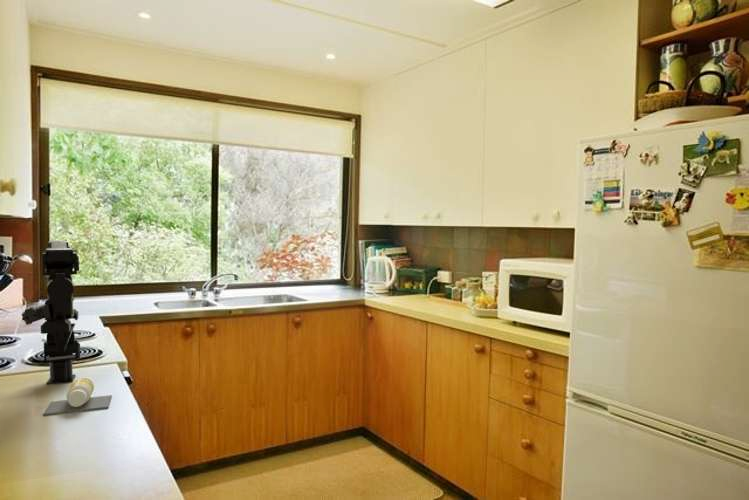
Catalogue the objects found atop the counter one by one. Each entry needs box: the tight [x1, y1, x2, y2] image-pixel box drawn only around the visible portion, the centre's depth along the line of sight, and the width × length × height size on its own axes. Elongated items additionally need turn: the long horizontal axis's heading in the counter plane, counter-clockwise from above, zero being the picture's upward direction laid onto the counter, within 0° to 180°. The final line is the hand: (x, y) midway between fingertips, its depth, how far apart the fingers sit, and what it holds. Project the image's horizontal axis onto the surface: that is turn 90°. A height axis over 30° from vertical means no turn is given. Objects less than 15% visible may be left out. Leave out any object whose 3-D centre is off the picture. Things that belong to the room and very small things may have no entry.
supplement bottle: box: [66, 377, 95, 407], centre depth 129 cm, size 5×5×10 cm
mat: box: [42, 394, 113, 417], centre depth 129 cm, size 9×14×1 cm, turn 113°
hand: (61, 352), depth 136 cm, fingers closed
